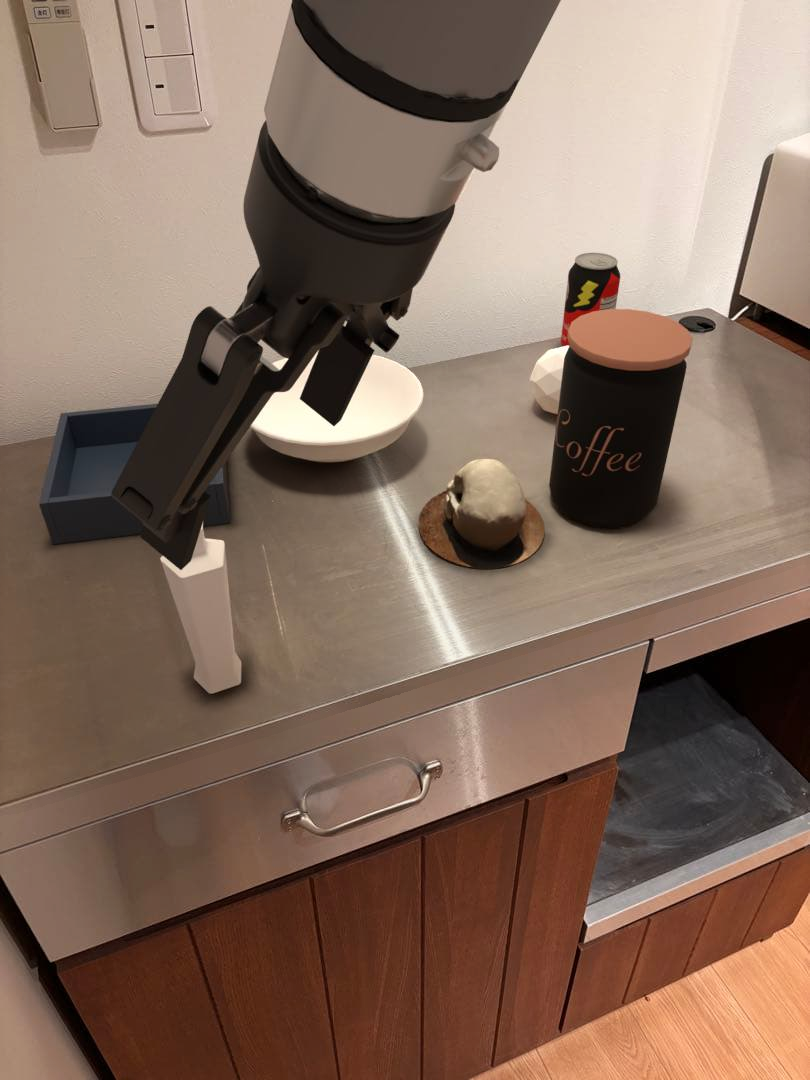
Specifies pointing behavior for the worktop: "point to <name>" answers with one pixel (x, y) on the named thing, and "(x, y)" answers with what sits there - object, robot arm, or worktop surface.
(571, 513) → the coffee jar
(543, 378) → the geometric ball
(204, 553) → the perfume bottle
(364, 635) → the worktop surface
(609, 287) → the beverage can
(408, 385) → the bowl
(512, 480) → the skull
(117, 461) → the bin
